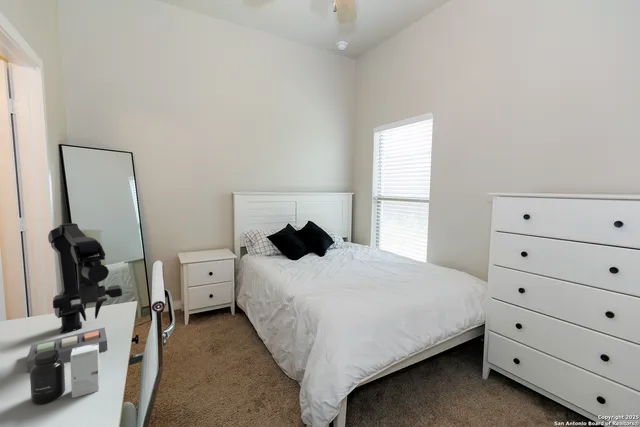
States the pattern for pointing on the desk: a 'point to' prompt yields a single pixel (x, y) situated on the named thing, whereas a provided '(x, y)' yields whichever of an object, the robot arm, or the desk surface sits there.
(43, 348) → the sage key
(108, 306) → the desk surface
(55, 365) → the supplement bottle
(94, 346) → the skincare box
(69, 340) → the cream key
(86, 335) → the terracotta key
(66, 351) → the keyguard
